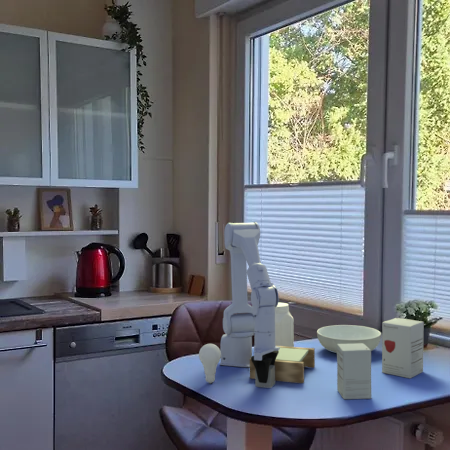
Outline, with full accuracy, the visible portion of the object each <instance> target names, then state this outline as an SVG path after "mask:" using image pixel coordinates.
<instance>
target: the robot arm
mask: <svg viewBox="0 0 450 450" xmlns="http://www.w3.org/2000/svg"><path fill="white" fill-rule="evenodd" d="M223 234H224V235H223V236H224V238H223V239H224V247H225V250H228V251H229V254H230V268H231V269H230V273H231V274H230V275H231V276H230V277H231V278H230V279H231V302H232V303H231V304H230V305H228V306H227V307H226V308H225V309H224V310H223V318H222V329H223V332H224V333H225V334H222V336H221V338H220V346H219V347H220V348H219V349H220V352H221V358H220V363H219V365H220V366H227V367H228V366H229V367H237V368H238V367H239V368H240V367H241V368H250V358H251V361H252V362H253V364H254V366H255V369H256V373H257V377H258V381H259V383H267V380H268V372H269V367H270V365H274V363H275V360H276V357H277V355H278V353H279V351H278V350H280V347H277V346H276V345H275V307H277V305H278V303H279V300H280V299H279V298H280V296H279V291H278V288H277V287H276V286H275V284H274V283H273V282H271V279H270V275H269V272H268V269H267V266H266V265H265V264H263V263H261V256H260V252H259V246H258V245H259V242H260V238H261V227H260V225H259V223H258V222H257V221H254V222H234V223H233V222H228V223H227V224H226V225H225V227H224V233H223ZM247 266H248V268H247ZM248 281H249V282H248ZM248 283H249V285H250V289H251V293H250V303H251V304H250V303H248V302H249V300H248V298H249V297H248ZM253 336H254V337H253ZM253 338H254V345H253ZM253 350H254V351H253Z"/></svg>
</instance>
